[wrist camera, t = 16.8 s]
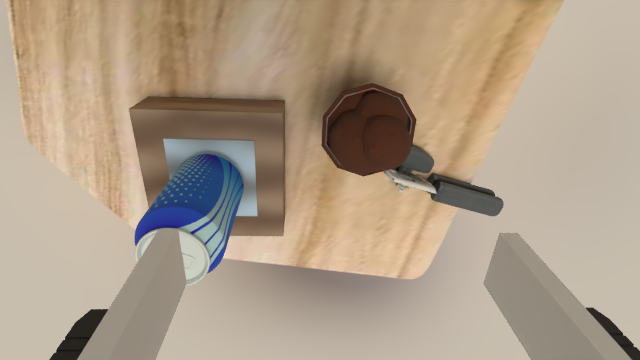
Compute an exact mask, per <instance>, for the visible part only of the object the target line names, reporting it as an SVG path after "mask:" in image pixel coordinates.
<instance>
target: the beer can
mask: <svg viewBox="0 0 640 360" xmlns="http://www.w3.org/2000/svg"><path fill="white" fill-rule="evenodd" d="M243 190H244V184H243V179H242V176H241V174H240V172H239V171H238V169H237V168H236V167H235V166H234V165H233V164H232V163H231V162H230V161H228V160H227V159H225V158H223V157H221V156H218V155H214V154H198V155H195V156H192V157H190V158H188V159H187V160H185V161H184V162H183V163H182V164H181V166H180V167H179V168H178V170H177V171H176V172H175V174H174V175H173V176H172V178H171V179H170V181H169V182H168V183H167V185H166V186H165V187H164V189H163V190H162V192H161V193H160V194H159V196H158V197H157V198H156V200H155V201H154V202H153V204H152V205H151V207H150V208H149V209H148V211H147V212H146V213H145V215H144V216H143V218H142V219H141V220H140V222H139V224H138V226H137V228H136V231H135V245H136V249H135V259H136V262H137V263H138V261H139V260H140V258H141V256H142V255H143V253H144V252H145V250H146V248H147V247H148V245H149V244H150V242H151V240H152V239H153V237H154V236H155V234H156V232H157V231H158V230H178V232H179V239H180V245H181V251H182V257H183V263H184V269H185V275H186V281H187V284H186V286H189V285H192V284H195V283H196V282H198V281H200V280H201V279H202V278H203V277H204V276H205V275H206V274H207V273H209V272H211V271H212V270H213V269H214V268H215V267H217V265H218V264H219V263H220V262H221V260H222V258H223V256H224V253H225V249H226V246H227V243H228V240H229V237H230V233H231V230H232V227H233V224H234V220H235V217H236V214H237V211H238V207H239V204H240V201H241V198H242V194H243Z"/></svg>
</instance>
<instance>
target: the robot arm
mask: <svg viewBox="0 0 640 360" xmlns="http://www.w3.org/2000/svg"><path fill="white" fill-rule="evenodd" d="M186 284H187V281H186V275H185V269H184V263H183V257H182V251H181V245H180V239H179V232H178V230H158V231H157V232H156V234H155V236H154V237H153V239H152V240H151V242H150V244H149V245H148V247H147V248H146V250H145V252H144V253H143V255H142V256H141V258H140V260H139V261H138V263H137V264H136V266H135V268H134V269H133V271H132V273H131V274H130V276H129V278H128V279H127V280H126V282H125V284H124V285H123V287H122V289H121V290H120V292H119V293H118V295H117V297H116V298H115V300H114V302H113V303H112V305H111V306H110V308H109V309H103V310H101V309H96V310H93V309H91V310H90V311H89V312H88V313H86V314H85V315H84V316H83V317H82V318H81V319H79V320H78V321H77V322H76V323H75V324H74V326H73V327H72V328H71V330H70V332H69V333H68V334H67V336H66V337H65V340H63V341H62V343H61V344H60V346H59V347H58V348H57V351H56V353H54V354H53V355H52V357H51V358H50V360H155V359H156V357H157V355H158V352H159V350H160V347H161V345H162V342H163V340H164V337H165V335H166V333H167V330H168V327H169V325H170V323H171V320H172V318H173V315H174V313H175V311H176V308H177V306H178V303H179V301H180V298H181V296H182V293H183V291H184V288H185V286H186ZM484 285H485V287H486V288H487V290H488V292H489V293H490V295H491V296H492V298H493V299H494V301H495V303H496V304H497V306H498V307H499V309H500V311H501V312H502V314H503V315H504V317H505V318H506V320H507V322H508V323H509V325H510V327H511V328H512V330H513V331H514V333H515V335H516V336H517V338H518V339H519V341H520V342H521V344H522V346H523V347H524V349H525V350H526V352H527V354H528V355H529V357H530V358H531V360H640V351H639V350H638V349H637V348H636V347H634V346H633V345H634V344H633V343H632V342H631V341H630V340H629V339H628V338H627V337H626V336H623V333H622V332H621V331H620V330H619V329H618V328H617V326H616V325H615V324H614V323H613V322H612V321H611V320H610V319H608V318H607V317H605V316H604V315H603V314H601V313H600V312H598V311H597V310H595V309H594V308H585V307H584V306H583V305H582V304H581V303H580V302H579V301H578V300H577V298H576V297H575V296H574V295H573V294H572V293H571V292H570V291H569V289H568V288H567V287H566V286H565V285H564V284H563V283H562V282H561V281H560V280H559V279H558V277H557V276H556V275H555V274H554V273H553V272H552V271H551V270H550V269H549V268H548V266H547V265H546V264H545V263H544V262H543V261H542V260H541V259H540V258H539V256H538V255H537V254H536V253H535V252H534V251H533V250H532V249H531V248H530V246H529V245H528V244H527V243H526V242H525V241H524V240H523V239H522V238H521V237H520V235H519V234H518V233H500V234H499V237H498V240H497V243H496V246H495V249H494V252H493V256H492V258H491V262H490V265H489V268H488V271H487V274H486V277H485V280H484Z"/></svg>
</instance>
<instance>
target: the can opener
mask: <svg viewBox="0 0 640 360" xmlns="http://www.w3.org/2000/svg"><path fill="white" fill-rule="evenodd" d="M433 165H434V160H433V158H432V157H431V156H430V155H429V154H428V153H426V152H425V151H423V150H422V149H420V148H418V147H416V146H413V145H412V148H411V152H410V154H409V155H408V157H407V159H406V160H405V161H404V163H403V164H402V165H400V166H399V167H398V169H397V168H395V169H394V170H388V171H384V173H385V175H386V176H387V177H388V178H389V179H390V180H392V181H393V182H397V183H396V184H395V185H396V186H397V187H398V188H399V189H398V191H400V192H404V191H402V190H403V189H404V188H405V189H406V188H408V189H409V186H410V187H414V188H417V189H421V190H424V191H426V192H428V193H430V194H431V198H432V200H434V201H436V202H440V203H444V204H448V205H452V206H455V207H459V208H463V209H467V210H470V211H474V212H478V213H482V214H486V215H489V216H496V215H498V214H499V213H500V211H501V209H502V208H503V201H502V199H500V198H498V197H495V194H494V192H493V191H492V190H489V189H486V188H482V187H478V186H475V185H471V184H467V183H464V182H461V181H457V180H453V179H450V178H447V177H443V176H439V175H436V174H432V175H430V177H429V178H428V180H427V179H424V178H422V177H421V176H419V175H417V176H415V175H413V174H411V171H412V170H415V171H418V172H423V173H430V171H431V169H432V167H433Z"/></svg>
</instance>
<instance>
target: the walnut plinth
mask: <svg viewBox="0 0 640 360" xmlns="http://www.w3.org/2000/svg"><path fill="white" fill-rule="evenodd" d="M129 112H130V117H131V122H132V127H133V132H134V137H135V142H136V147H137V152H138V157H139V162H140V167H141V171H142V176H143V181H144V186H145V191H146V196H147V201H148V206H149V208H150V207H151V205H152V204H153V202H154V201H155V200H156V198H157V197H158V196H159V194H160V193H161V192H162V190H163V189H164V187H165V186H166V185H167V183H168V182H169V181H170V179H171V178H172V176H173V175H174V174H175V172H176V171H177V170H178V168H179V167H180V166H181V164H182V163H183V162H184V161H185V160H187V159H188V158H190V157H192V156H195V155H198V154H214V155H218V156H221V157H223V158H225V159H227V160H228V161H230V162H231V163H232V164H233V165H234V166H235V167H236V168H237V169H238V171H239V172H240V174H241V176H242V179H243V184H244V190H243V194H242V198H241V201H240V204H239V207H238V211H237V214H236V217H235V220H234V224H233V227H232V230H231V233H230V236H283V233H284V221H285V101H283V100H249V99H216V98H182V97H149V96H148V97H147V98H145V99H144V100H142V101H141V102H139V103H138V104H136V105H134V106H133V107H131V108H130V109H129Z"/></svg>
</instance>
